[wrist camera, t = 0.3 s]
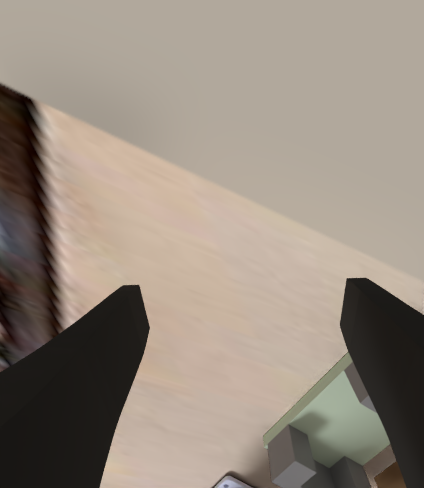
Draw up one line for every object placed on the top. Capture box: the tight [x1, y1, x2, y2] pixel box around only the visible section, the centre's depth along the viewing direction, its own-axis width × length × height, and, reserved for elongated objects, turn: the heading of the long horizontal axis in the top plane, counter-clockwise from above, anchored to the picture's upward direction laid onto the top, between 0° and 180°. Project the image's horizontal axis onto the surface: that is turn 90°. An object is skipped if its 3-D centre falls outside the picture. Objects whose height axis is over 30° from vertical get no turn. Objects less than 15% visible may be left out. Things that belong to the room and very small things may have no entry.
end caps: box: [267, 362, 377, 488], centre depth 22 cm, size 13×8×3 cm, turn 148°
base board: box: [263, 352, 390, 468], centre depth 24 cm, size 14×8×1 cm, turn 148°
